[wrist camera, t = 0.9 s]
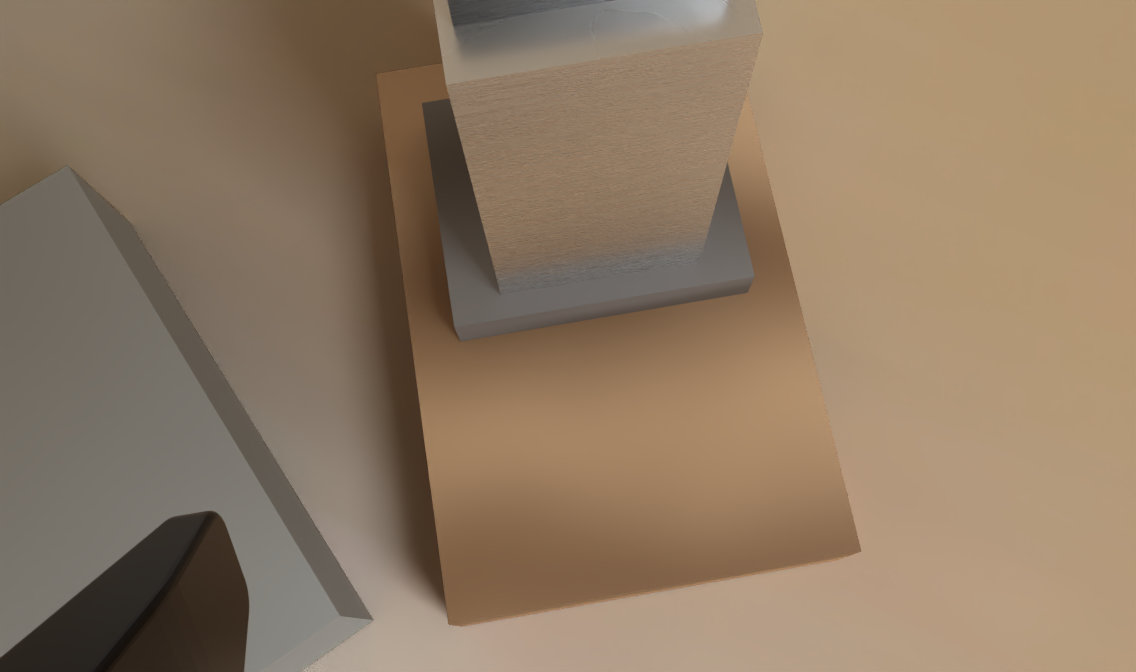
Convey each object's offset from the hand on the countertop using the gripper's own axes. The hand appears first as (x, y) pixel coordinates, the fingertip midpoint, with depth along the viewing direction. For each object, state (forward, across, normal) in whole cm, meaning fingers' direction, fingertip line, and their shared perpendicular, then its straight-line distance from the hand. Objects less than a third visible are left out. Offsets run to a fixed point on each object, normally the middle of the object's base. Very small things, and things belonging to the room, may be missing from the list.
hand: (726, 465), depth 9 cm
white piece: (+12, 0, +2) cm, 13 cm away
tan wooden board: (+13, 0, +5) cm, 14 cm away
